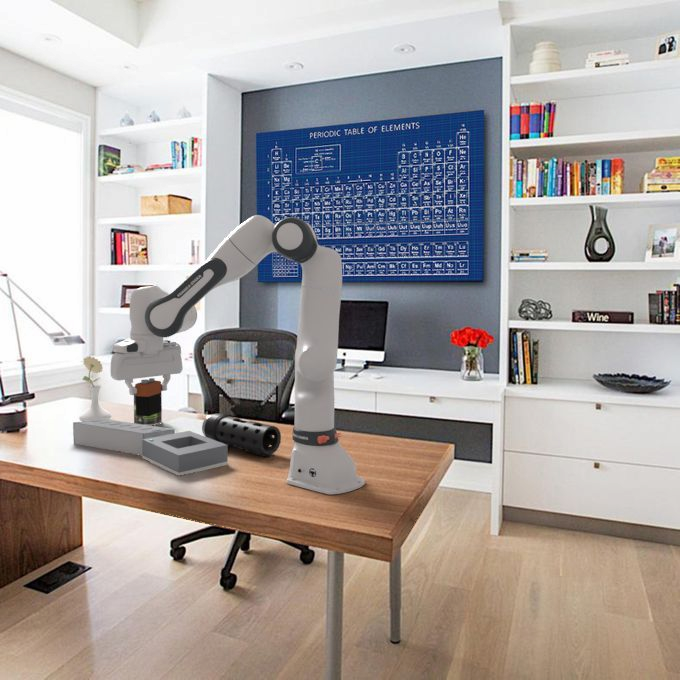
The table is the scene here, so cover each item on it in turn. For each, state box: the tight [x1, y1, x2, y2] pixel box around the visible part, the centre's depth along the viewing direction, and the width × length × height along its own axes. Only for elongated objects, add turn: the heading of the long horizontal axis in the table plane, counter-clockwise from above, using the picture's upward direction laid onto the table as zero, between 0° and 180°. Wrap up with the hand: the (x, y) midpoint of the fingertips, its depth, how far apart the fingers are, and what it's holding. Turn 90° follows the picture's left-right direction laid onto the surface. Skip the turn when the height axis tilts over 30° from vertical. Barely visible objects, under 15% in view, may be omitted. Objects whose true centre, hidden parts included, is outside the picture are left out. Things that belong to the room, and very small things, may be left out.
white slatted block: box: [72, 419, 176, 456], centre depth 194 cm, size 30×14×8 cm, turn 66°
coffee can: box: [133, 386, 163, 426], centre depth 223 cm, size 10×10×14 cm
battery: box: [134, 377, 163, 416], centre depth 166 cm, size 4×7×10 cm, turn 164°
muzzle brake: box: [201, 412, 282, 458], centre depth 190 cm, size 10×28×10 cm, turn 53°
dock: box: [142, 430, 229, 476], centre depth 176 cm, size 22×16×6 cm
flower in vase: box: [78, 356, 112, 422], centre depth 224 cm, size 13×11×25 cm
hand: (148, 392), depth 166 cm, fingers closed on battery, 8 cm apart
